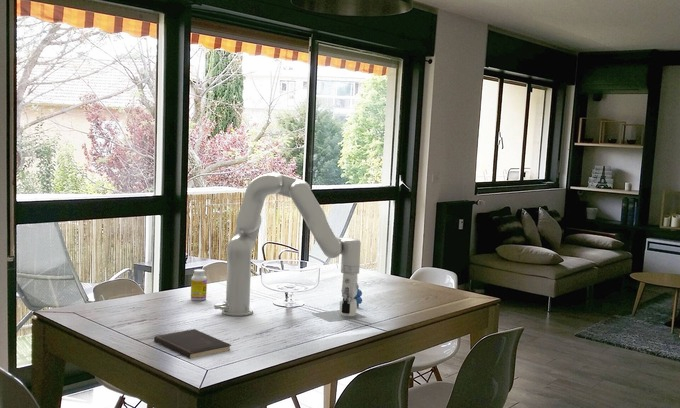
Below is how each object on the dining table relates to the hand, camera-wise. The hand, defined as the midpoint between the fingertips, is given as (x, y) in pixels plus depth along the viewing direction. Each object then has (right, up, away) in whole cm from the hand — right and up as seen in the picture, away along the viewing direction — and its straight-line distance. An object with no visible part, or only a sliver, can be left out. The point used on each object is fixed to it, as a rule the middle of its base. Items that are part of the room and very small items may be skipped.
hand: (347, 310), depth 277 cm
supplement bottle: (-65, +2, +19) cm, 68 cm away
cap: (0, -2, 0) cm, 2 cm away
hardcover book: (-54, -6, -46) cm, 71 cm away
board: (-4, -3, -2) cm, 5 cm away
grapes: (+1, -2, +18) cm, 18 cm away
